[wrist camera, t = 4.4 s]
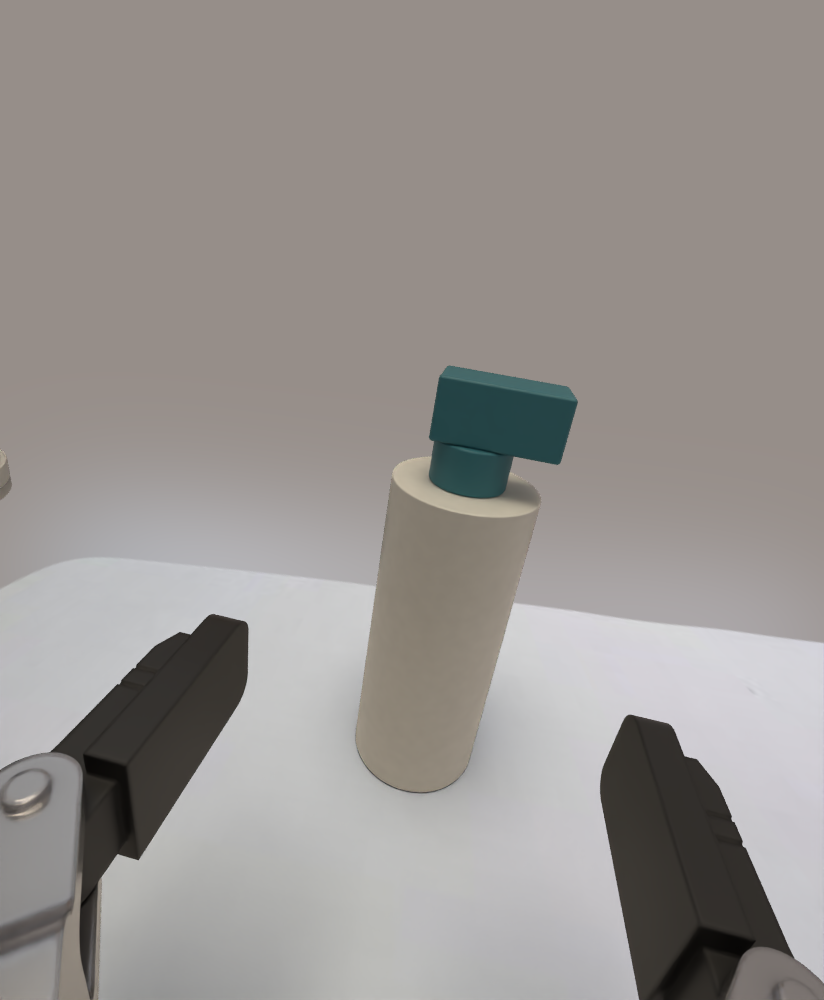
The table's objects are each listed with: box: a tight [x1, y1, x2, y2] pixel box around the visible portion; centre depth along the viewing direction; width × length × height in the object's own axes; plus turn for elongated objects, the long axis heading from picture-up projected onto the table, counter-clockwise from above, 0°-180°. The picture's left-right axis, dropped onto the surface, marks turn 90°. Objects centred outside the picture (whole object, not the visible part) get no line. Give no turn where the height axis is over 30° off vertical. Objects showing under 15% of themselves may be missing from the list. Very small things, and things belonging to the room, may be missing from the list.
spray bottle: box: [356, 366, 578, 792], centre depth 18 cm, size 5×5×16 cm
